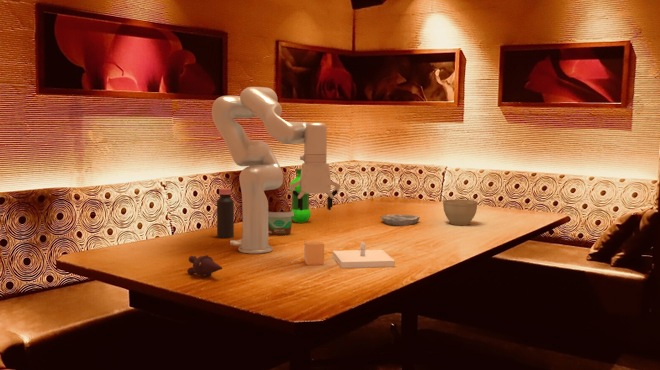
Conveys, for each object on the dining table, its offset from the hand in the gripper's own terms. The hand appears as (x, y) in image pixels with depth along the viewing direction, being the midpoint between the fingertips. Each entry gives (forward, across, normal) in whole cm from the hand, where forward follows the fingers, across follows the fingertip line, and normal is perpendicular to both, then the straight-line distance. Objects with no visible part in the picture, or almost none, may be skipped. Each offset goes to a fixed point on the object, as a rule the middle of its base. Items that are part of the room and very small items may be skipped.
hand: (315, 209), depth 217 cm
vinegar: (+18, -30, +50) cm, 61 cm away
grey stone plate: (+19, +51, +77) cm, 94 cm away
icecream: (+19, -37, -15) cm, 44 cm away
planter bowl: (+19, +79, +70) cm, 108 cm away
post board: (+18, +17, 0) cm, 25 cm away
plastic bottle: (+18, +5, +84) cm, 86 cm away
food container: (+18, -7, +52) cm, 56 cm away
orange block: (+18, 0, 0) cm, 18 cm away
